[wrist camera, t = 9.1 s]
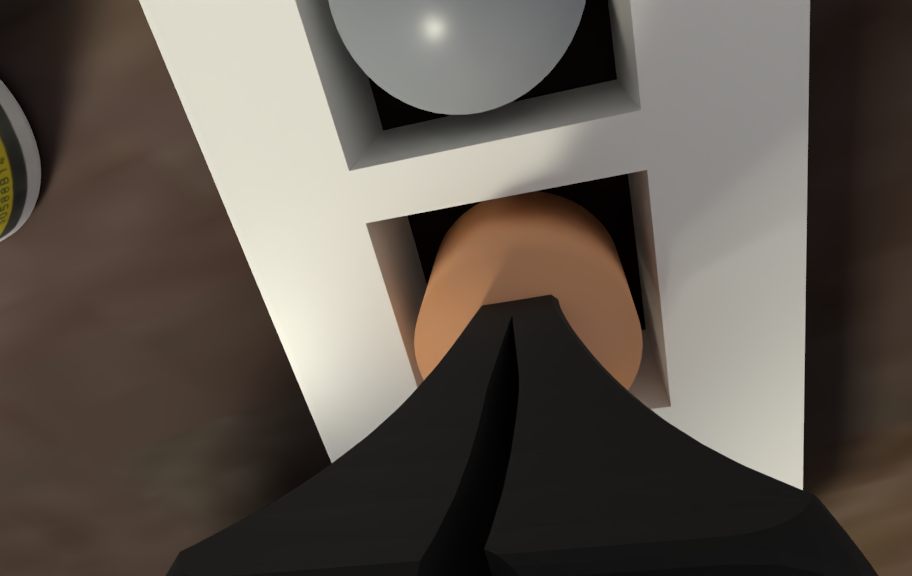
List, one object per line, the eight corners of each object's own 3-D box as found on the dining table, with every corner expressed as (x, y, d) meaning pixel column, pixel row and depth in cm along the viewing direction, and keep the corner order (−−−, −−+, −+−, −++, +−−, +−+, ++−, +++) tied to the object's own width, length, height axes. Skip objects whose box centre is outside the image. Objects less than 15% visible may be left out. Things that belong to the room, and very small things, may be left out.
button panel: (760, 536, 18) (800, 636, 15) (426, 563, 20) (411, 655, 17) (735, -398, 9) (817, -539, 7) (152, -195, 11) (38, -242, 9)
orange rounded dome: (630, 343, 14) (653, 425, 12) (457, 367, 15) (443, 449, 12) (608, 173, 12) (629, 226, 10) (413, 210, 13) (387, 269, 11)
